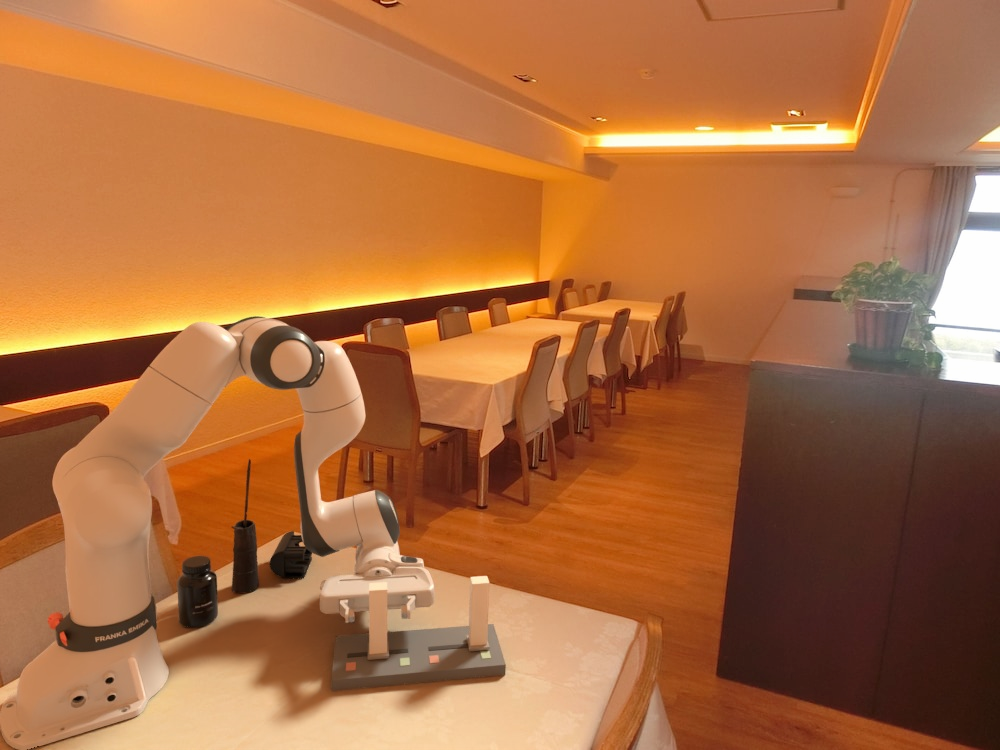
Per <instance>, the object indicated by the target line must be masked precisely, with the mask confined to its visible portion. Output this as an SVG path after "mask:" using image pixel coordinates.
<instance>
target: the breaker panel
mask: <svg viewBox="0 0 1000 750" xmlns="http://www.w3.org/2000/svg"><path fill="white" fill-rule="evenodd" d="M466 635H469V625H464V626H462V625H460V626H449V627H448V626H446V627H438V628H436V627H434V628H423V629H421V628H420V629H409V630H397V631H387V641H389V658H385V659H373V660H368V643H369V633H359V634H358V633H357V634H346V635H345V634H344V635H335V640H334V649H333V650H334V651H333V659H332V660H333V661H332V668H331V670H332V671H331V680H330V681H331V684H330V685H331V692H334V691H347V690H356V689H357V690H358V689H367V688H369V689H370V688H378V687H379V688H380V687H390V686H391V687H392V686H399V685H400V686H401V685H410V684H411V685H412V684H420V683H421V684H422V683H424V684H425V683H433V682H443V681H453V680H454V681H455V680H464V679H465V680H466V679H474V678H475V679H477V678H487V677H497V676H498V677H499V676H505V675H506V672H507V671H506V670H507V667H506V666H507V665H506V661H505V657H504V654H503V651H502V647H501V643H500V641H499V638H498V634H497V631H496V628H495V625H494V623H488V635H487V640H488V643H489V647H490V649H489V650H478V651H469V648H468V643H467V639H466Z"/></svg>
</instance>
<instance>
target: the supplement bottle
mask: <svg viewBox="0 0 1000 750" xmlns="http://www.w3.org/2000/svg"><path fill="white" fill-rule="evenodd" d="M181 565H182V569H181V575H180V576H179V577H178V579H177V584H176V587H177V590H176V591H177V607H178V608H177V609H178V611H177V612H178V620H179V621H178V622H179V624H180V625H181V626H183V627H184V628H187V629H188V628H189V629H197V628H198V629H199V628H202V627H206V626H208V625H210V624H211V623H214V621H216V619H217V617H218V616H219V615H218V614H219V599H218V576H217V574H216V572H215V571H214V570H212V564H211V558H210V557H209V556H206V555H194V556H191V557H188V558H186V559H184V560H183V562H182V564H181Z"/></svg>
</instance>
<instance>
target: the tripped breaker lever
mask: <svg viewBox="0 0 1000 750" xmlns="http://www.w3.org/2000/svg"><path fill="white" fill-rule="evenodd" d="M368 612H369V615H368V617H369V618H368V622H369V623H368V624H369V625H368V626H369V627H368V634H369V643H368V660H373V659H385V658H389V641H387V632H388V610H387V582H382V583H369V611H368Z"/></svg>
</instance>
